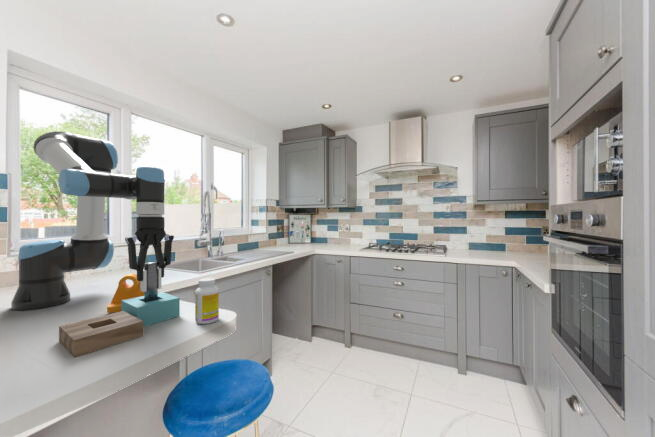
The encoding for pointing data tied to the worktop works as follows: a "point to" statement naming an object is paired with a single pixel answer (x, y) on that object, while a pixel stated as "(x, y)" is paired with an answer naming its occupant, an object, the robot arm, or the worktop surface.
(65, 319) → the worktop surface
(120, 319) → the socket block
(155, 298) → the steel rod
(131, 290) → the bracket
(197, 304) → the supplement bottle
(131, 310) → the block with rectangular slot
